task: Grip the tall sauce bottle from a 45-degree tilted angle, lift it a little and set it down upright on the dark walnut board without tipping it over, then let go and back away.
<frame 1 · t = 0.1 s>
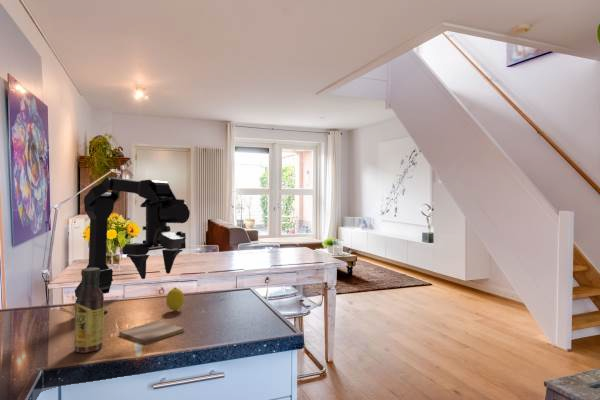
hand: (156, 276, 109), 15 cm above the counter, tool pointing down, fingers open, 9 cm apart
lemon: (175, 312, 125), on the counter
walnut board: (152, 333, 103), on the counter
sauce bottle: (89, 350, 92), on the counter
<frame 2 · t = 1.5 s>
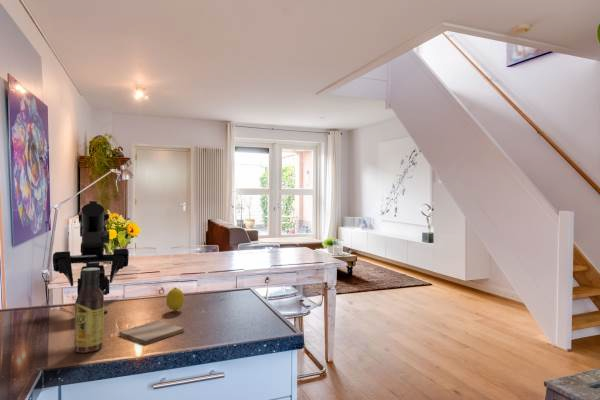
hand: (91, 283, 101), 14 cm above the counter, tool tilted 45°, fingers open, 9 cm apart
nothing on the counter moved.
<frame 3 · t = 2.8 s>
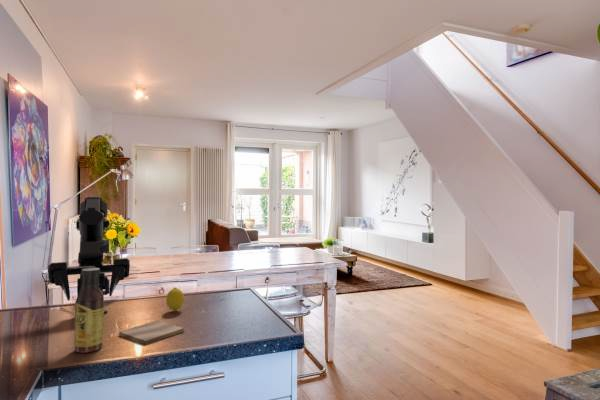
hand: (89, 297, 95), 12 cm above the counter, tool tilted 45°, fingers open, 9 cm apart
nothing on the counter moved.
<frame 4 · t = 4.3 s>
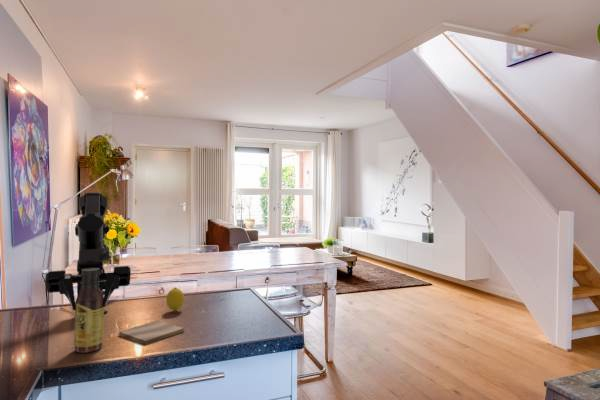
hand: (89, 307, 91), 11 cm above the counter, tool tilted 45°, fingers closed on sauce bottle, 6 cm apart
sauce bottle: (89, 350, 92), on the counter, touching gripper
everything else where it was.
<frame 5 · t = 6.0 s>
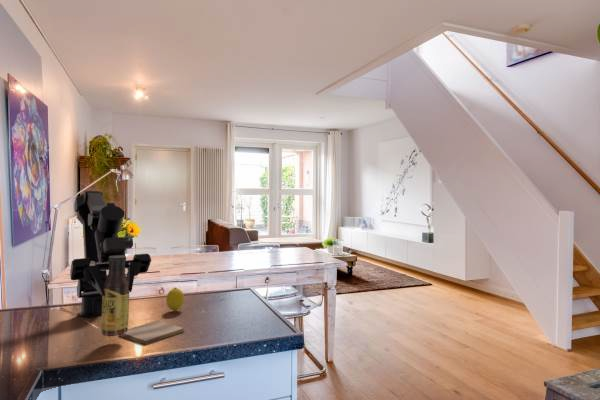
hand: (117, 292, 95), 13 cm above the counter, tool tilted 45°, fingers closed on sauce bottle, 6 cm apart
sauce bottle: (115, 334, 96), point 2 cm above the counter, touching gripper
everything else where it was.
when the fingers open (12 cm above the counter, at t = 8.1 s): sauce bottle stays where it is, resting on walnut board.
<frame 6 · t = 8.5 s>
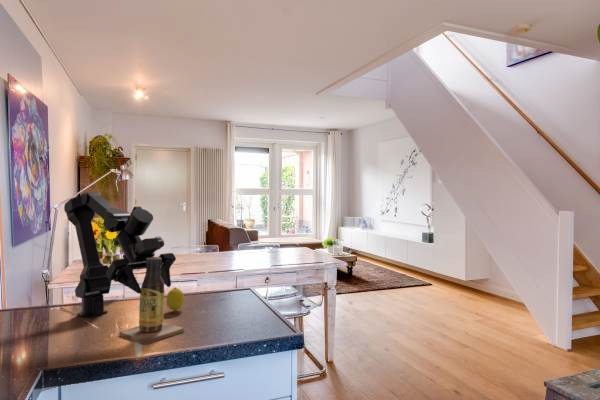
hand: (155, 289, 103), 12 cm above the counter, tool tilted 45°, fingers open, 9 cm apart
sauce bottle: (151, 330, 103), point 1 cm above the counter, touching walnut board
everything else where it was.
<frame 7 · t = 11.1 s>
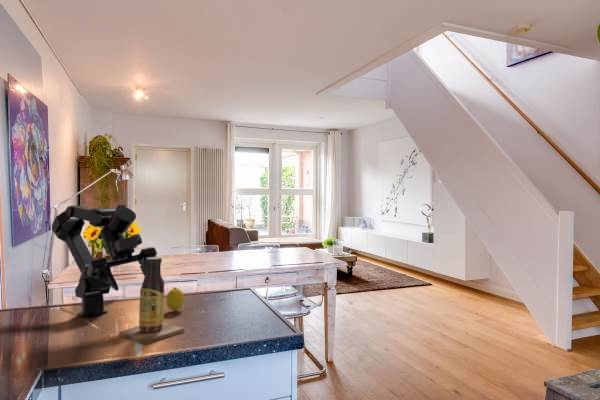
hand: (133, 285, 109), 12 cm above the counter, tool tilted 40°, fingers open, 9 cm apart
nothing on the counter moved.
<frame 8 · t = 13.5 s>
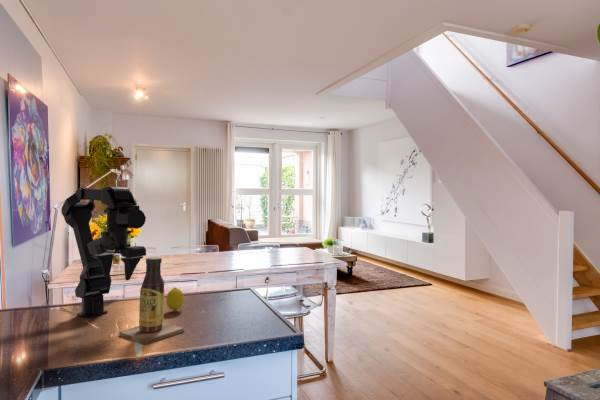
hand: (116, 278, 114), 13 cm above the counter, tool pointing down, fingers open, 9 cm apart
nothing on the counter moved.
at the end: sauce bottle inside the target area on the walnut board (0.2 cm from its centre), point 0.8 cm above the walnut board's base; sauce bottle tilted 0°; the gripper is holding nothing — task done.
